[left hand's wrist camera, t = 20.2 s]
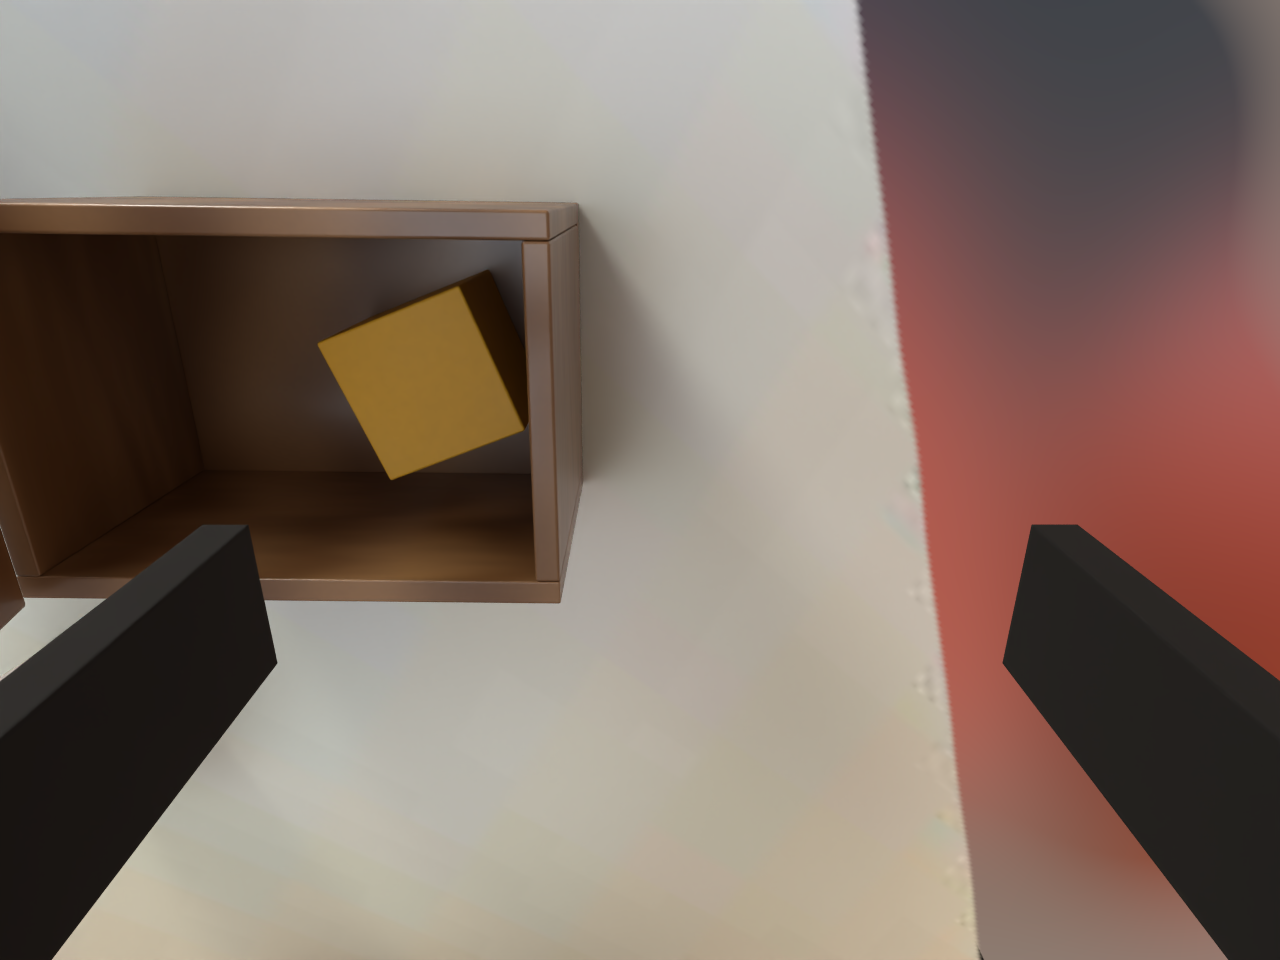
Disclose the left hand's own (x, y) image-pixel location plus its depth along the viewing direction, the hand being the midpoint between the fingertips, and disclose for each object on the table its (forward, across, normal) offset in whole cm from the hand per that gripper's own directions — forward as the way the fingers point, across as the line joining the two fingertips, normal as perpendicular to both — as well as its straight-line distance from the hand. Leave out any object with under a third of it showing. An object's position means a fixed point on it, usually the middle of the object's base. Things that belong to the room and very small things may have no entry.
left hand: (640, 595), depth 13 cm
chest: (+20, +11, 0) cm, 23 cm away
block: (+20, +8, 0) cm, 21 cm away
